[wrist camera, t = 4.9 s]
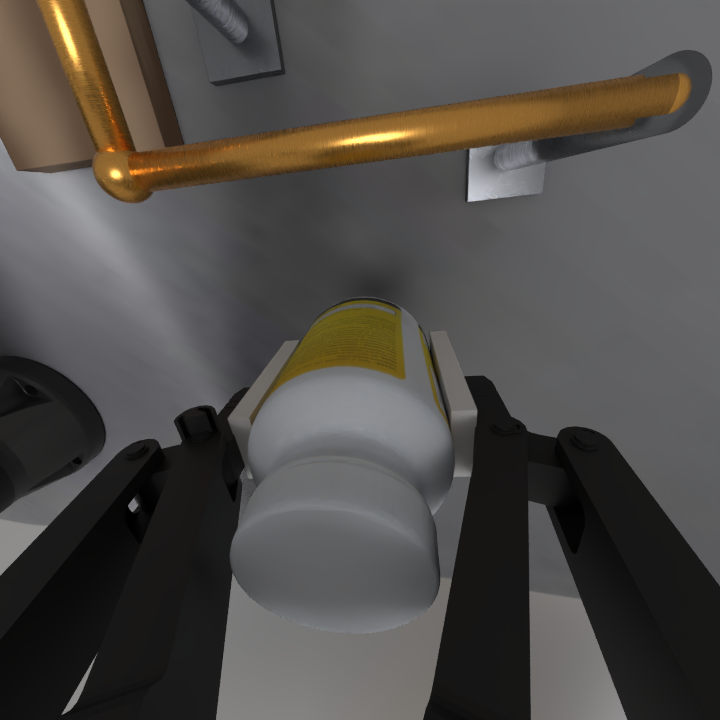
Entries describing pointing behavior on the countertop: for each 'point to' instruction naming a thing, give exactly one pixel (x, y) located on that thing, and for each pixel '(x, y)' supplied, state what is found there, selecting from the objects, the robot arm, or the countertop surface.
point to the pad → (54, 96)
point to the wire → (367, 134)
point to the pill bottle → (348, 476)
